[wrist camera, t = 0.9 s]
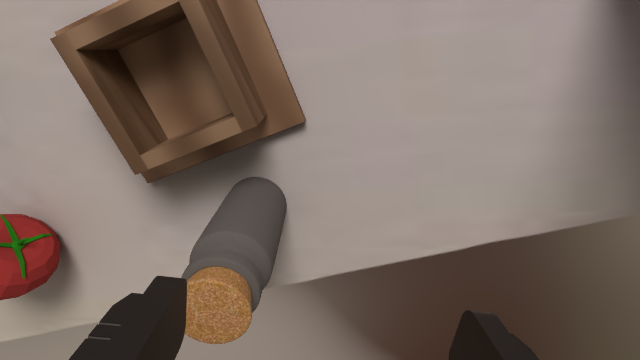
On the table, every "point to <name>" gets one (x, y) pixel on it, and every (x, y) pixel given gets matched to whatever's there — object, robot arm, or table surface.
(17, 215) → the tomato
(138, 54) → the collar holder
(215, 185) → the table surface
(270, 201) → the bottle
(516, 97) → the table surface
